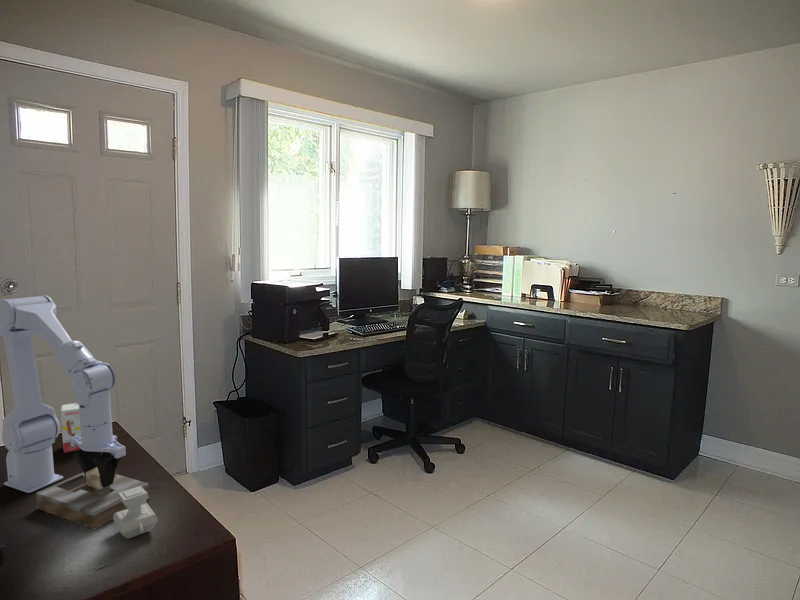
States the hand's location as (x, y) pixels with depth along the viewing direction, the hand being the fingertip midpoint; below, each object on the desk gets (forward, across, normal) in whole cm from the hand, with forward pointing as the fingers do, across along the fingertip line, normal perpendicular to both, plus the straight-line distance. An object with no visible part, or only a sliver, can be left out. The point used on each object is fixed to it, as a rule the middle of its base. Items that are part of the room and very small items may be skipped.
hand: (100, 482), depth 110 cm
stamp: (+6, -15, +4) cm, 16 cm away
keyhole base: (+5, +2, 0) cm, 6 cm away
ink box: (+6, +33, -18) cm, 39 cm away
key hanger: (+4, 0, 0) cm, 4 cm away
